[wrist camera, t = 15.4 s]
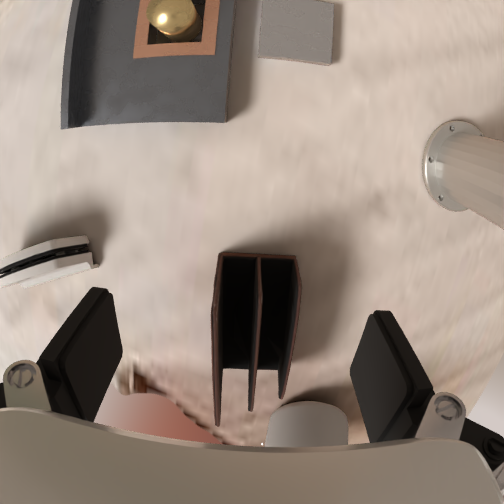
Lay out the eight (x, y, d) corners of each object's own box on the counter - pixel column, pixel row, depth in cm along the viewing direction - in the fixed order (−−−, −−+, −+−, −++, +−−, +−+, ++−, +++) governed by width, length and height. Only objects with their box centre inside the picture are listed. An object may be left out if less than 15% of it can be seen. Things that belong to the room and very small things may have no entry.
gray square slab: (331, 7, 27) (334, 3, 26) (327, 66, 31) (331, 64, 29) (262, -2, 27) (263, -6, 26) (258, 57, 31) (258, 55, 29)
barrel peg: (203, 9, 28) (193, -12, 21) (200, 42, 30) (189, 26, 23) (166, 11, 28) (149, -8, 21) (162, 43, 30) (143, 29, 23)
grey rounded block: (29, 287, 43) (-12, 299, 33) (23, 260, 43) (-19, 267, 33) (101, 266, 41) (58, 277, 31) (93, 234, 41) (49, 237, 31)
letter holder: (219, 363, 49) (211, 434, 36) (218, 250, 40) (204, 315, 28) (281, 365, 49) (287, 436, 36) (296, 254, 41) (315, 319, 28)
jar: (274, 445, 59) (279, 546, 37) (234, 415, 54) (229, 534, 31) (354, 414, 55) (381, 521, 32) (324, 377, 50) (352, 509, 27)
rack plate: (242, -52, 24) (240, -75, 18) (226, 122, 34) (221, 123, 28) (105, -37, 23) (86, -53, 18) (85, 125, 33) (60, 129, 28)
